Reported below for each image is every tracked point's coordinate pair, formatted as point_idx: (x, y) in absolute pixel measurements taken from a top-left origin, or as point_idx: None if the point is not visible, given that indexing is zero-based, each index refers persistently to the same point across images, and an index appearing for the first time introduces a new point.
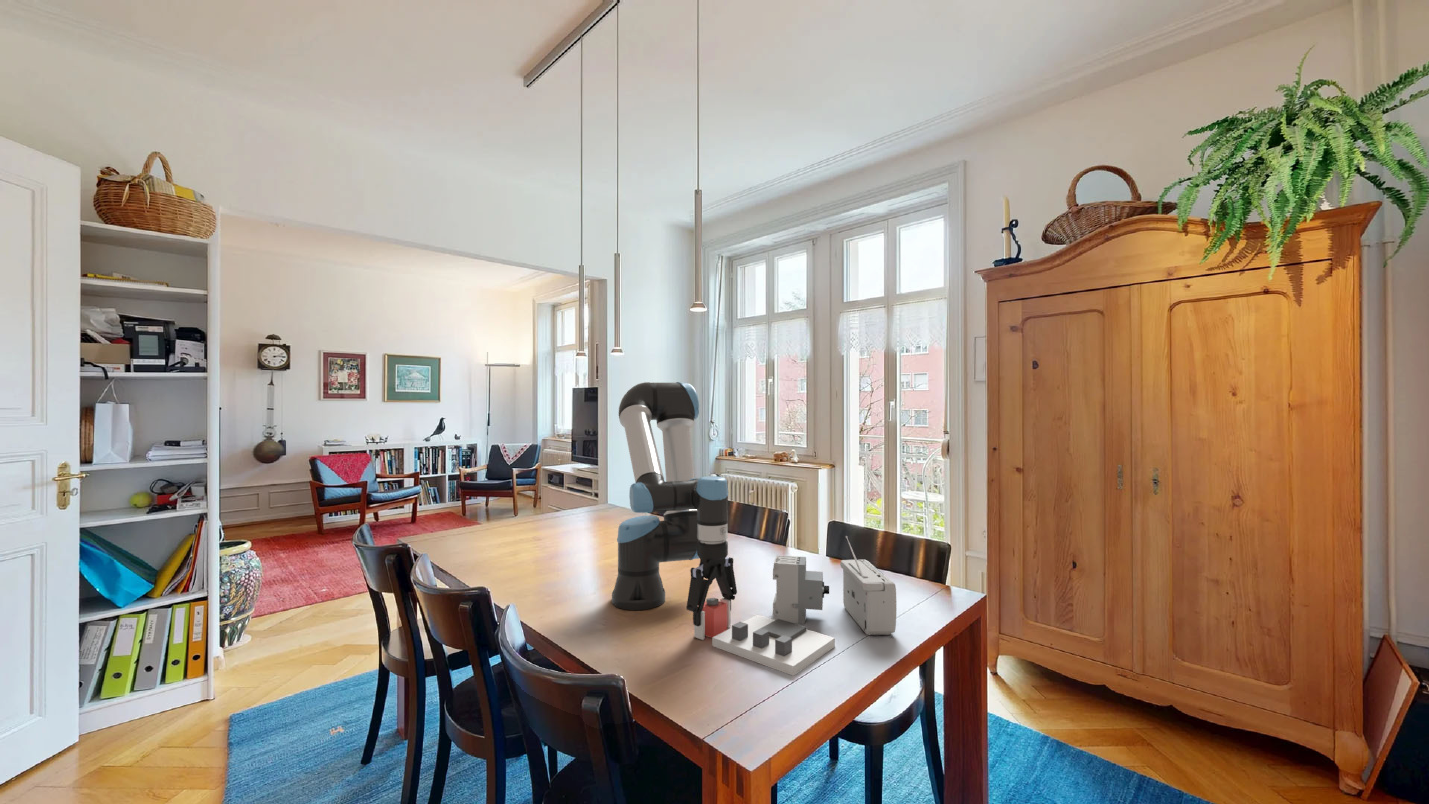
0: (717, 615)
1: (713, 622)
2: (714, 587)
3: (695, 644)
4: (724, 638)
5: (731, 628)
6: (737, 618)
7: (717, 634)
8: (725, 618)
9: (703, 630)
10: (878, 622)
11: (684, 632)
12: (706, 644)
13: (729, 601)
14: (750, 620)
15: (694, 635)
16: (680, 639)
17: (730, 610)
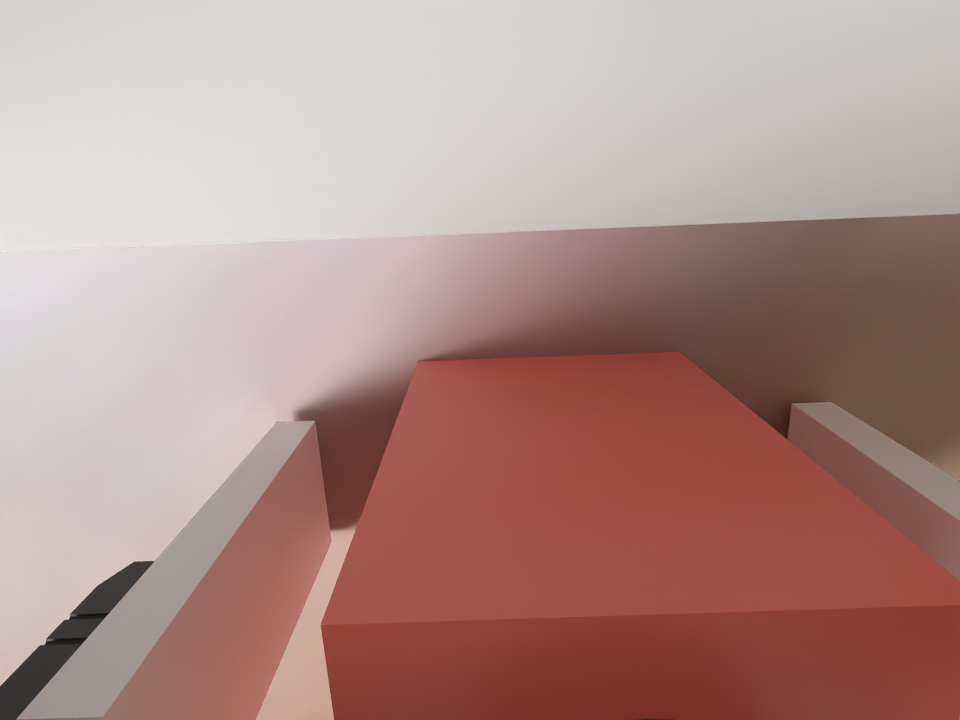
0: (702, 487)
1: (774, 440)
2: None
3: (948, 398)
4: (912, 22)
5: (504, 213)
6: (32, 517)
7: (611, 361)
8: (431, 431)
9: (895, 452)
10: None
11: None
12: (879, 301)
13: (76, 698)
14: (19, 188)
15: None
16: None
17: (136, 567)
